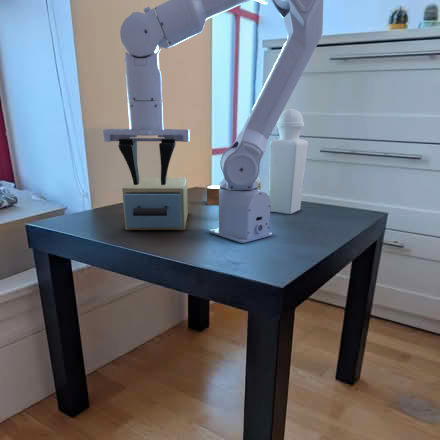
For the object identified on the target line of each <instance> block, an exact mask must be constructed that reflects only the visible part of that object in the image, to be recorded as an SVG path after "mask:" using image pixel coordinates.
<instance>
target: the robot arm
mask: <svg viewBox="0 0 440 440" xmlns="http://www.w3.org/2000/svg"><path fill="white" fill-rule="evenodd" d="M249 1H251V0H166V1H165V2H162V3H161V4H159V5H157V6H155V7H152V8H151V7H150V6H146V7H144V8H143V12H141V11H133V12H131V14H130V15H129V16H127V17H126V18H125V19H124V20H123V22H122V23H121V26H120V30H119V31H120V32H119V34H120V36H119V37H120V41H121V44H122V47H123V48H124V49H125V51H126V52H125V53H124V56H125V57H124V63H125V71H124V72H125V73H124V74H125V83H126V84H125V85H126V97H127V111H128V122H129V128H105V129H104V128H103V129H102V131H103V141H104V142H107V143H109V142H118V144H117V145H118V146H117V147H118V149H119V151H120V153H121V155H122V156H123V158H124V160H125V162H126V165H127V167H128V169H129V172H130V175H131V180H132V179H133V183H134V185H138V184H139V177H140V173H139V166H138V142H159V143H158V148H159V159H160V177H161V185H165V184H166V177H167V175H168V170H169V165H170V162H171V158H172V155H173V154H174V153H173V152H174V150H175V148H176V145H177V142H183V143H190V129H185V128H184V129H175V128H164V111H163V108H164V107H163V91H162V88H163V87H162V71H161V70H160V58H159V57H160V56H159V54H160V52H161V50H162V49H165V50H169V49H170V48H172V47H174V46H176V45H178V44H180V43H182V42H184V41H187V40H188V39H190V38H191V39H192V38H193V37H195V36H197V35H199V34H201V33H203V31H204V27H205V24H206V22H207V20H208V19H211V18H214V17H215V16H218V15H220V14H222V13H225V12H228V11H229V10H232V9H234V8H236V7H238V6H241V5H243V4H246V3H248V2H249ZM254 1H255V2H258V3H260V4H263V5H266V6H267V5H268V4H269V3H270V2H272V4H273V6H274V8H275V9H276V10H277V12H278V13H279V15H280V16H281V17H282V20H283V23H284V26H285V30H286V33H287V38H286V39H285V40H286V41H285V42H284V44H283V46H282V48H281V51H280V53H279V54H278V56H277V59H276V60H275V62H274V65H273V67H272V69H271V71H270V73H269V75H268V77H267V78H266V81H265V83H264V85H263V87H262V89H261V91H260V93H259V95H258V96H257V99H256V101H255V103H254V105H253V107H252V109H251V111H250V114H249V116H248V117H247V119H246V121H245V123H244V125H243V127H242V129H241V130H240V132H239V133H238V135H237V136H236V138H235V141H234V142H233V143H232V145H231V146H230V147H228V148H227V149H226V150H225V151H224V152H223V153H222V155H221V157H220V163H219V164H220V165H219V166H220V170H221V172H222V174H223V179H222V180H221V181H220V182H219V183H218V186H219V205H218V227H217V228H212V229H209V231H208V232H209V233H210V234H212V235H216V236H219V237H222V238H225V239H228V240H231V241H235V242H238V243H241V244H245V243H249V242H253V241H256V240H260V239H264V238H267V237H271V236H273V233H272V232H271V231H270V228H271V227H270V226H271V225H270V224H271V212H270V210H271V202H270V198H269V194H268V193H267V192H265V191H262V190H261V188H260V189H259V188H258V182H256V179H257V178H258V177H259V175H260V169H261V168H260V167H261V161H262V158H263V156H264V154H265V152H266V148H267V145H268V144H267V143H268V141H269V138H270V136H271V134H272V132H273V130H274V128H275V127H276V125H277V122H278V119H279V117H280V115H281V113H282V112H283V111H285V110H284V109H285V107H286V105H287V104H288V102H289V100H290V98H291V97H292V94H293V92H294V91H295V89H296V86H297V85H298V83H299V81H300V78H301V77H302V75H303V73H304V71H305V69H306V67H307V65H308V64H309V62H310V60H311V58H312V56H313V54H314V52H315V50H316V48H317V46H318V45H319V43H320V40H321V38H322V35H323V31H324V30H323V28H324V26H323V25H324V0H254ZM139 136H141V137H139ZM142 136H144V137H142ZM146 136H157V137H146Z"/></svg>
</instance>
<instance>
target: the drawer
mask: <svg viewBox="0 0 440 440" xmlns="http://www.w3.org/2000/svg"><path fill="white" fill-rule="evenodd" d="M124 201H125V213H126V224H127V228H181V201H180V194H179V193H130V194H124Z"/></svg>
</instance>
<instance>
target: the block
mask: <svg viewBox="0 0 440 440" xmlns="http://www.w3.org/2000/svg"><path fill="white" fill-rule="evenodd" d="M206 206H219V185H206Z"/></svg>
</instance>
